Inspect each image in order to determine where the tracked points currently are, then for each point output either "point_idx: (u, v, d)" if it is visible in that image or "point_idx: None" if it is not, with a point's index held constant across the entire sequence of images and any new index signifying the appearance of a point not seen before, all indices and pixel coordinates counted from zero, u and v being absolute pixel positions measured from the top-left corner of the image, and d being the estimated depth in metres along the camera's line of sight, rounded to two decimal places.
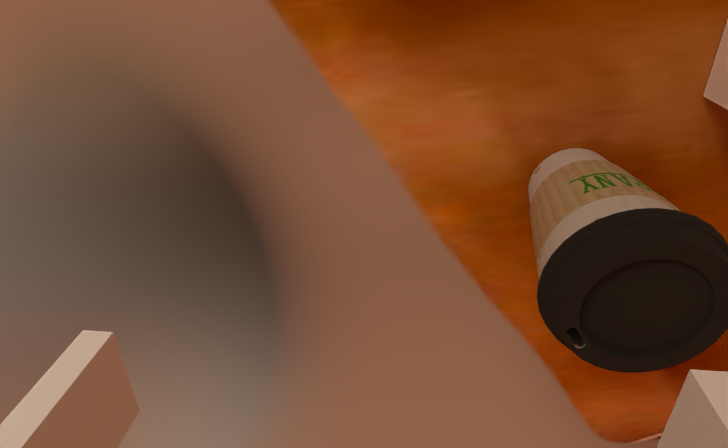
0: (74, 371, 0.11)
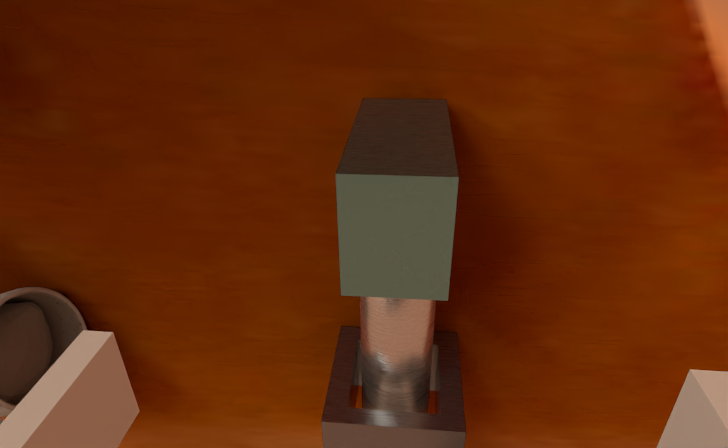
0: (74, 371, 0.11)
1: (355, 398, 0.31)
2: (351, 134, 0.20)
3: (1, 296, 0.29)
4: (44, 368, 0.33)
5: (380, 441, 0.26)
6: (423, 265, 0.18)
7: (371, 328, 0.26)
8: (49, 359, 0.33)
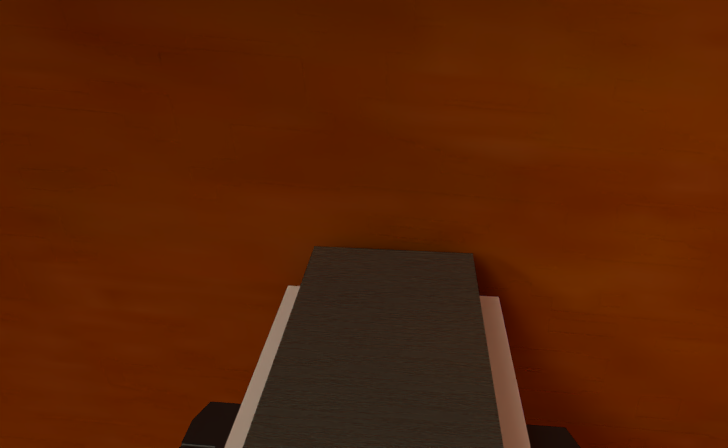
0: None
1: None
2: (259, 410, 0.08)
3: None
4: None
5: None
6: None
7: None
8: None
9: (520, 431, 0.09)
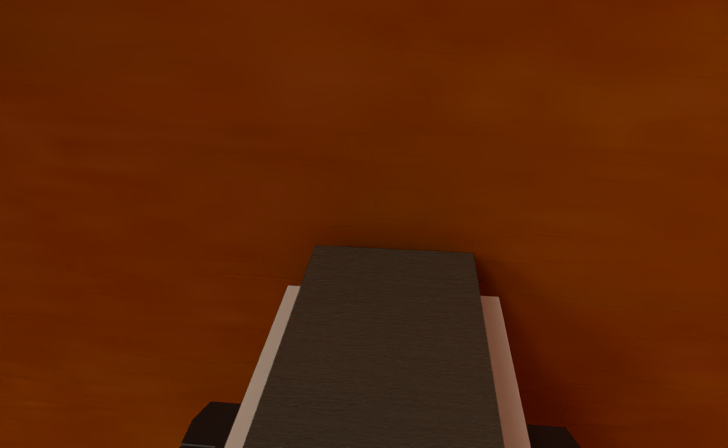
0: None
1: None
2: (260, 408, 0.08)
3: None
4: None
5: None
6: None
7: None
8: None
9: (520, 431, 0.09)
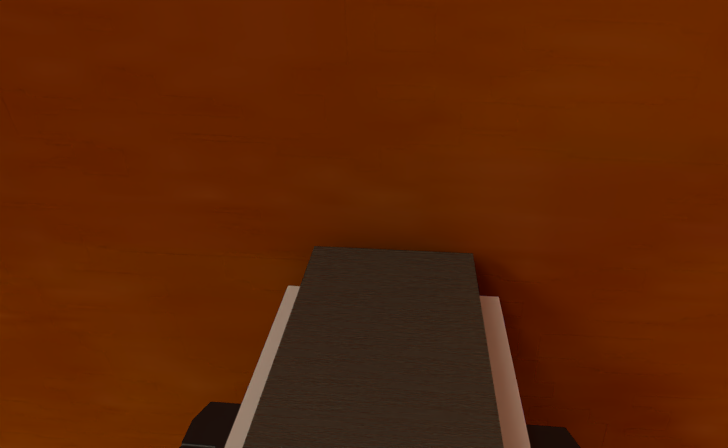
0: None
1: None
2: (259, 409, 0.08)
3: None
4: None
5: None
6: None
7: None
8: None
9: (520, 431, 0.09)
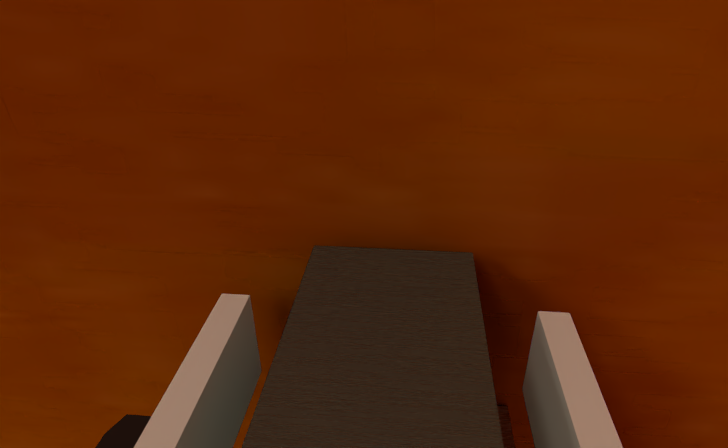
0: (226, 327, 0.12)
1: None
2: (259, 409, 0.08)
3: None
4: None
5: None
6: None
7: None
8: None
9: None
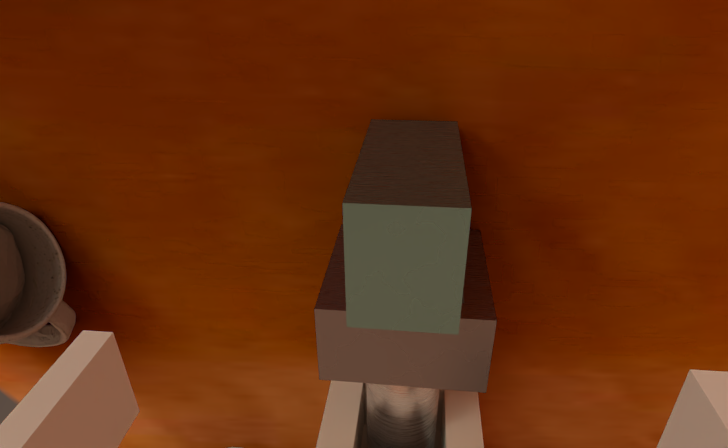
0: (74, 371, 0.11)
1: None
2: (359, 159, 0.19)
3: None
4: (12, 299, 0.28)
5: (388, 336, 0.21)
6: (433, 298, 0.17)
7: None
8: (19, 290, 0.29)
9: None
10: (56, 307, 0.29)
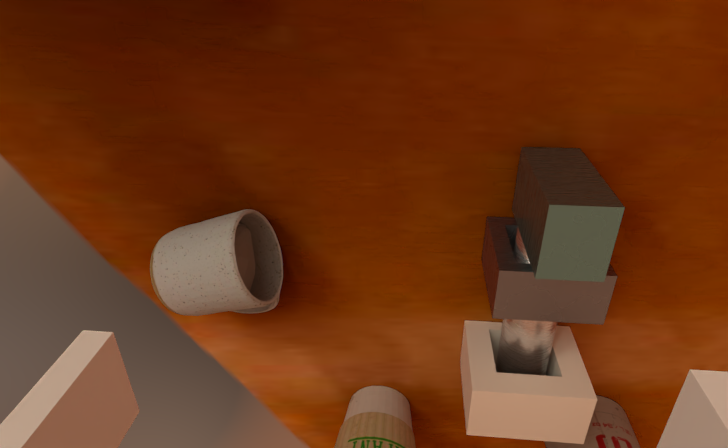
0: (74, 371, 0.11)
1: None
2: (536, 176, 0.31)
3: (238, 213, 0.37)
4: (253, 277, 0.41)
5: (544, 288, 0.33)
6: (592, 260, 0.29)
7: None
8: None
9: None
10: (281, 283, 0.41)
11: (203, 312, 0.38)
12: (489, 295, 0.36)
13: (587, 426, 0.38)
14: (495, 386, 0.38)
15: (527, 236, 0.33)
